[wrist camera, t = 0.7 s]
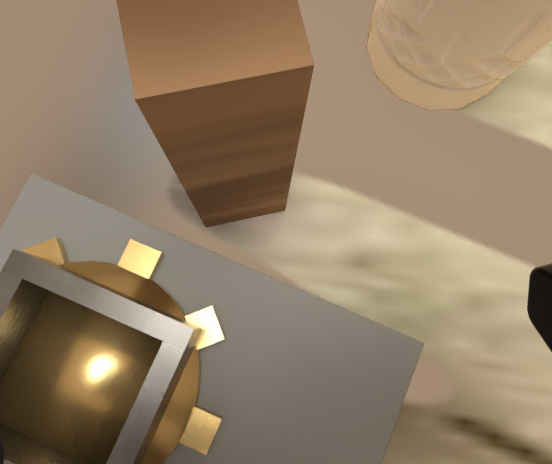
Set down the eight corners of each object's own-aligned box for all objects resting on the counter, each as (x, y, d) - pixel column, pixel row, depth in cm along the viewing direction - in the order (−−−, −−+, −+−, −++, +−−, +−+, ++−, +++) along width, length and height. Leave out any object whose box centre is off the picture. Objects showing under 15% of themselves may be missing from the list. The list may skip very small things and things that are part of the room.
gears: (246, 726, 17) (243, 811, 14) (-156, 533, 18) (-240, 574, 15) (387, 351, 20) (409, 355, 17) (29, 195, 21) (-11, 173, 18)
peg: (284, 210, 22) (314, 64, 10) (205, 227, 22) (134, 99, 10) (267, 136, 23) (274, -88, 10) (190, 151, 22) (105, -59, 10)
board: (279, 720, 18) (280, 743, 17) (-144, 518, 19) (-166, 528, 18) (416, 342, 21) (424, 343, 20) (41, 180, 22) (31, 173, 21)
